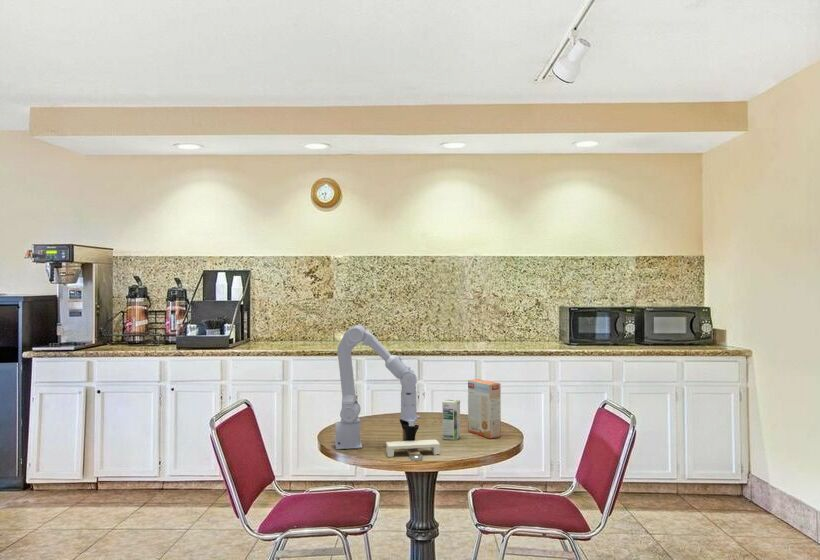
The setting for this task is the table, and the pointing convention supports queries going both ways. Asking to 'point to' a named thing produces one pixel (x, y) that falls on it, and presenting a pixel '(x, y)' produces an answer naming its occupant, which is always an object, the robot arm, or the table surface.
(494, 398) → the cracker box
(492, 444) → the table surface
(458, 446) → the table surface
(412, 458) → the steel disc
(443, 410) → the syrup box
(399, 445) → the shelf
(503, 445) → the table surface
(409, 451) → the brown wooden mallet
